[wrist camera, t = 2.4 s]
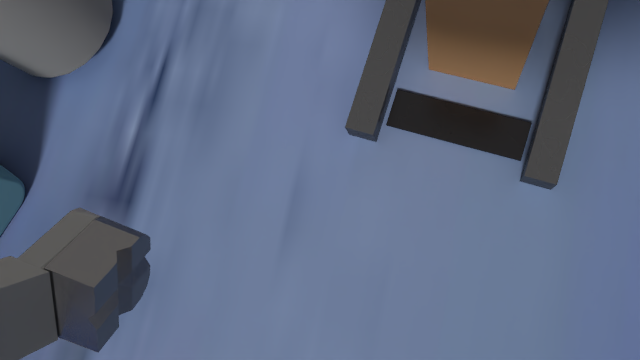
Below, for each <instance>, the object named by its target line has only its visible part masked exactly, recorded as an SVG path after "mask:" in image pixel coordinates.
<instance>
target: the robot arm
mask: <svg viewBox="0 0 640 360" xmlns="http://www.w3.org/2000/svg"><path fill="white" fill-rule="evenodd" d="M149 251H150V237H149V236H148V235H146V234H143V233H141V232H139V231H136V230H134V229H131V228H129V227H127V226H124V225H122V224H119V223H117V222H114V221H112V220H110V219H107V218H105V217H102V216H99V215H97V214H94V213H92V212H89V211H87V210H84V209H82V208H77V209H74V210H72V211H70V212H69V213H68V214H67V215H66V216H64V217H63V218H62V219H61V220H60V221H59V222H58V223H57V224H55V225H54V226H53V227H52V228H51V229H50V230H49V231H48V232H46V233H45V234H44V235H43V236H42V237H41V238H40V239H39V240H37V241H36V242H35V243H34V244H33V245H32V246H31V247H30V248H28V249H27V250H26V251H25V252H24V253H23V254H22V255H21V256H19V257H18V258H14V257H12V256H9V257H6V258H2V259H0V360H19V359H21V358H23V357H25V356H27V355H29V354H31V353H33V352H35V351H37V350H39V349H41V348H43V347H45V346H47V345H49V344H51V343H52V342H54V341H56V340H58V337H59V338H62V339H64V340H67V341H70V342H72V343H75V344H77V345H80V346H83V347H85V348H88V349H90V350H93V351H96V352H99V351H100V350H101V349H102V347H103V346H104V345H105V344H106V342H107V341H108V340H109V339H110V337H111V336H112V335H113V334H114V332H115V331H116V330H117V329H118V327H119V315H121V314H123V313H126V312H128V311H131V310H133V308H134V307H135V306H136V304H137V303H138V302H139V300H140V299H141V297H142V295H143V293H144V291H145V289H146V287H147V284H148V280H149V276H150V265H149V263H148V261H147V260H146V258H145V255H146V254H147V253H148V252H149Z"/></svg>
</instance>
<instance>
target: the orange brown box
mask: <svg viewBox="0 0 640 360" xmlns="http://www.w3.org/2000/svg"><path fill="white" fill-rule="evenodd" d="M548 2H549V0H425V3H426V22H427V41H428V61H429V70H433V71H438V72H442V73H446V74H450V75H455V76H459V77H463V78H467V79H471V80H476V81H480V82H484V83H488V84H492V85H497V86H501V87H505V88H509V89H513V90H515V88H516V85H517V82H518V80H519V77H520V75H521V72H522V69H523V67H524V64H525V62H526V59H527V56H528V54H529V51H530V49H531V46H532V43H533V41H534V38H535V36H536V33H537V30H538V28H539V25H540V23H541V20H542V17H543V15H544V12H545V10H546V7H547V4H548Z"/></svg>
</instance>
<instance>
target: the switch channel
mask: <svg viewBox="0 0 640 360" xmlns="http://www.w3.org/2000/svg"><path fill="white" fill-rule="evenodd" d="M420 2H421V0H386V2H385V5H384V9H383V12H382V15H381V18H380V21H379V24H378V27H377V30H376V33H375V36H374V39H373V43H372V46H371V49H370V52H369V55H368V58H367V61H366V64H365V67H364V70H363V74H362V77H361V80H360V83H359V86H358V89H357V92H356V95H355V98H354V101H353V104H352V108H351V111H350V114H349V117H348V120H347V123H346V126H345V128H346V130H347V131H348V133H349V135H353V136H357V137H360V138H364V139H368V140H371V141H375V142H376V141H377V138H378V135H379V132H380V129H381V125H382V122H383V119H384V116H385V113H386V110H387V106H388V103H389V100H390V97H391V94H392V91H393V87H394V84H395V81H396V78H397V75H398V72H399V68H400V65H401V62H402V59H403V56H404V53H405V50H406V46H407V43H408V40H409V37H410V34H411V31H412V27H413V24H414V21H415V18H416V15H417V12H418V8H419V5H420ZM607 4H608V0H572V2H571V6H570V9H569V13H568V16H567V20H566V23H565V27H564V30H563V34H562V37H561V41H560V44H559V48H558V51H557V55H556V58H555V62H554V65H553V69H552V72H551V76H550V79H549V82H548V86H547V89H546V93H545V96H544V100H543V103H542V107H541V110H540V114H539V117H538V121H537V124H536V128H535V131H534V135H533V138H532V142H531V145H530V149H529V152H528V156H527V159H526V162H525V166H524V169H523V173H522V176H521V180H520V181H521V182H525V183H528V184H532V185H536V186H539V187H543V188H547V189H550V190H551V189H552V188H554V187H555V186H556V185H557V182H558V179H559V175H560V172H561V168H562V164H563V161H564V157H565V154H566V150H567V147H568V143H569V140H570V136H571V132H572V129H573V125H574V122H575V118H576V115H577V111H578V107H579V104H580V100H581V97H582V93H583V90H584V86H585V82H586V79H587V75H588V72H589V68H590V65H591V61H592V58H593V54H594V50H595V47H596V43H597V40H598V36H599V33H600V29H601V25H602V22H603V18H604V15H605V11H606V8H607ZM386 125H387V126H391V127H395V128H398V129H402V130H406V131H410V132H413V133H417V134H421V135H425V136H429V137H432V138H436V139H440V140H444V141H447V142H451V143H455V144H459V145H462V146H466V147H470V148H474V149H477V150H481V151H485V152H489V153H493V154H496V155H500V156H504V157H508V158H511V159H515V160H519V161H521V158H522V154H523V151H524V148H525V144H526V141H527V137H528V134H529V130H530V127H531V123H530V122H526V121H522V120H518V119H514V118H510V117H506V116H502V115H498V114H494V113H490V112H486V111H482V110H478V109H474V108H470V107H466V106H462V105H458V104H454V103H450V102H446V101H441V100H437V99H433V98H429V97H425V96H421V95H417V94H413V93H409V92H405V91H401V90H397V92H396V96H395V99H394V102H393V105H392V108H391V111H390V115H389V118H388V121H387V124H386Z"/></svg>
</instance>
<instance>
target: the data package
mask: <svg viewBox="0 0 640 360" xmlns="http://www.w3.org/2000/svg"><path fill="white" fill-rule="evenodd" d="M24 196H25V187H24V184H23V182H22V181H21V180H20V179H19V178H17V177H16V176H15V175H13V174H12V173H11V172H9V171H8V170H7V169H5V168H4V167H3V166H1V165H0V236H1V235H2V233H3V232H4V230H5V229H6V227H7V226H8V224H9V223H10V221H11V220H12V218H13V217H14V215H15V214H16V212H17V211H18V209H19V208H20V206H21V204H22V202H23V200H24Z"/></svg>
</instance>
